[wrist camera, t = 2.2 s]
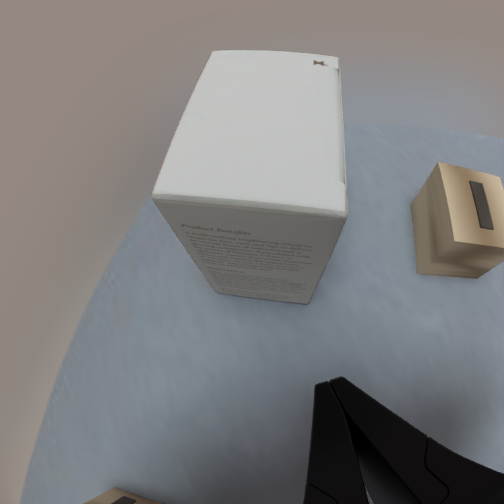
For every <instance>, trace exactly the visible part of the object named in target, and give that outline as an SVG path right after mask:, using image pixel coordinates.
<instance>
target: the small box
mask: <svg viewBox="0 0 504 504" xmlns="http://www.w3.org/2000/svg"><path fill="white" fill-rule="evenodd" d="M340 72H341V71H340V59H339V58H337V57H332V56H325V55H316V54H307V53H296V52H280V51H255V50H251V51H250V50H234V51H233V50H227V51H213V52H211V54H210V56H209V58H208V60H207V62H206V64H205V66H204V68H203V70H202V72H201V74H200V76H199V79H198V81H197V83H196V85H195V87H194V89H193V92H192V94H191V96H190V98H189V101H188V103H187V105H186V107H185V109H184V112H183V114H182V116H181V119H180V121H179V123H178V126H177V128H176V131H175V133H174V136H173V138H172V141H171V143H170V145H169V148H168V151H167V153H166V156H165V158H164V161H163V163H162V166H161V168H160V172H159V174H158V177H157V179H156V182H155V185H154V188H153V190H152V192H151V197H152V199H153V201H154V202H155V204H156V206H157V207H158V209H159V210H160V212H161V213H162V215H163V216H164V218H165V219H166V221H167V222H168V224H169V225H170V226H171V228H172V230H173V231H174V233H175V234H176V236H177V237H178V239H179V240H180V241H181V243H182V244H183V246H184V247H185V249H186V250H187V252H188V253H189V255H190V256H191V258H192V259H193V261H194V262H195V263H196V265H197V266H198V268H199V269H200V271H201V272H202V273H203V275H204V276H205V278H206V279H207V281H208V282H209V283H210V285H211V286H212V288H213V289H214V290H215V292H217V293H223V294H230V295H236V296H243V297H251V298H258V299H266V300H275V301H283V302H291V303H301V304H308V303H309V302H310V300H311V298H312V296H313V293H314V291H315V289H316V287H317V285H318V283H319V280H320V278H321V276H322V274H323V272H324V270H325V268H326V265H327V263H328V261H329V259H330V257H331V254H332V252H333V250H334V247H335V245H336V243H337V240H338V238H339V236H340V234H341V231H342V229H343V226H344V224H345V222H346V219H347V217H348V212H349V211H348V199H347V184H346V166H345V143H344V124H343V109H342V93H341V73H340Z"/></svg>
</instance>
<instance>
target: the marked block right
mask: <svg viewBox="0 0 504 504" xmlns="http://www.w3.org/2000/svg"><path fill="white" fill-rule="evenodd" d="M411 212H412V220H413V229H414V238H415V249H416V261H417V274H425V275H438V276H450V277H463V278H476V279H477V278H478V277H480V276H482V275H483V274H485V273H486V272H488V271H489V270H491V269H492V268H494V267H495V266H497V265H498V264H500V263H501V262H503V261H504V189H503V186H502V183H501V180H500V177H497V176H493V175H490V174H486V173H482V172H479V171H475V170H471V169H467V168H463V167H459V166H454V165H450V164H445V163H441V162H438V163H437V164H436V166H435V168H434V169H433V171H432V173H431V174H430V176H429V177H428V179H427V181H426V182H425V184H424V185H423V187H422V189H421V190H420V192H419V193H418V195H417V196H416V198H415V199H414V201H413V202H412V204H411Z"/></svg>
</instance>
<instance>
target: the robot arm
mask: <svg viewBox="0 0 504 504" xmlns="http://www.w3.org/2000/svg"><path fill="white" fill-rule="evenodd" d="M306 483H307V484H306V487H305V495H304V501H303V504H369V502H368V498H367V494H366V490H365V486H366V488H367V490H368V492H369V494H370V496H371V498H372V500H373V502H374V504H504V474H503V473H500V472H497V471H495V470H492V469H490V468H488V467H485V466H483V465H480V464H478V463H476V462H474V461H471V460H469V459H467V458H465V457H463V456H461V455H459V454H457V453H455V452H453V451H451V450H449V449H448V448H446V447H444V446H443V445H441V444H439V443H438V442H436V441H435V440H433V439H432V438H430V437H428V438H427V435H425V434H424V433H422V432H421V431H420V430H418V429H417V428H415V427H414V426H412V425H411V424H409V423H408V422H406V421H405V420H403V419H402V418H400V417H399V416H398V415H396V414H395V413H393V412H392V411H390V410H389V409H387V408H386V407H385V406H383V405H382V404H380V403H379V402H377V401H376V400H375V399H373V398H372V397H370V396H369V395H368V394H366V393H365V392H363V391H362V390H361V389H359V388H358V387H356V386H355V385H354V384H352V383H351V382H350V381H348V380H347V379H345V378H344V377H338V378H335V379H331V380H330V381H329V382H328V381H325V382H322V383H318V384H316V385H315V388H314V404H313V418H312V430H311V442H310V452H309V462H308V471H307V480H306ZM364 484H365V486H364Z"/></svg>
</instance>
